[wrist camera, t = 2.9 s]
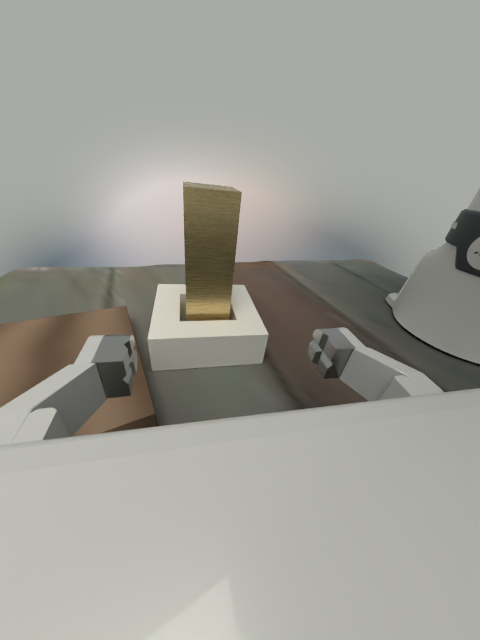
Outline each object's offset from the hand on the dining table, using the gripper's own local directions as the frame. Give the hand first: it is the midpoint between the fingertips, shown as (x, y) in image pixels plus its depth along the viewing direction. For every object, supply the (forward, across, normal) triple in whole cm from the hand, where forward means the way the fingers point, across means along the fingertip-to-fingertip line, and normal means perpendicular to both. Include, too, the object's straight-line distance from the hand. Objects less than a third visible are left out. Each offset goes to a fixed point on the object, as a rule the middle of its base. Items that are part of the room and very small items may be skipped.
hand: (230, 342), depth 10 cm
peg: (+12, 0, +9) cm, 15 cm away
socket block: (+12, 0, +9) cm, 15 cm away
